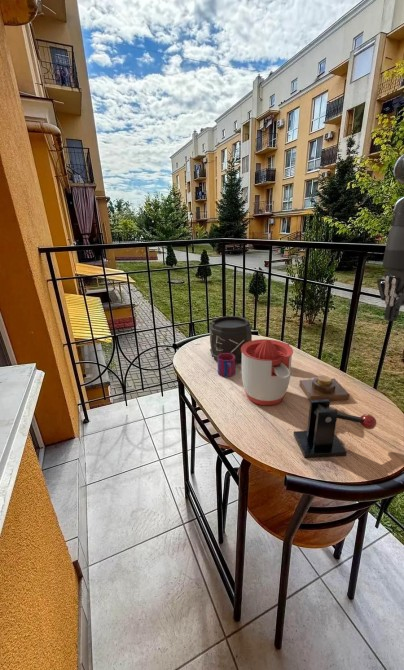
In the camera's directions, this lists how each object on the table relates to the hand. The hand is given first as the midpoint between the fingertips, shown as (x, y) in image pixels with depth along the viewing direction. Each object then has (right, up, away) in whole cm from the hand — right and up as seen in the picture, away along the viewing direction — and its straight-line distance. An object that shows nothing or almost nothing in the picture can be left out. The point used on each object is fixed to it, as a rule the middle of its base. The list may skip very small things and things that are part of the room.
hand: (390, 319), depth 70 cm
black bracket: (-17, -32, +1) cm, 36 cm away
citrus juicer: (-26, -24, +21) cm, 42 cm away
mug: (-37, -19, +36) cm, 56 cm away
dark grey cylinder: (-35, -13, +51) cm, 63 cm away
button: (-7, -19, +21) cm, 30 cm away
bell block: (-7, -23, +23) cm, 33 cm away
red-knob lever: (-12, -25, -1) cm, 28 cm away
